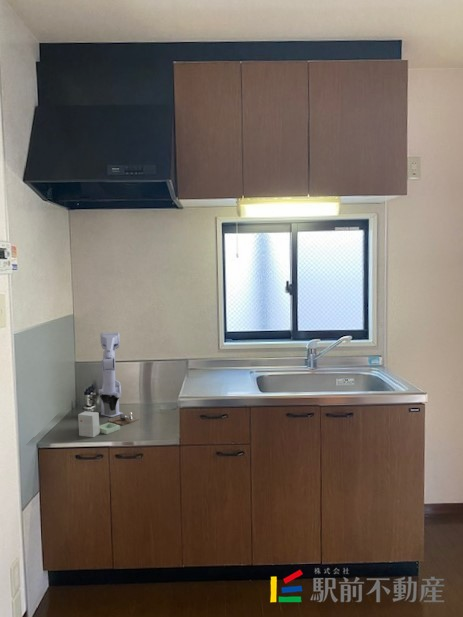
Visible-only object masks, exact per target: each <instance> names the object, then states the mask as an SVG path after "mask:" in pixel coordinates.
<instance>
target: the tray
mask: <svg viewBox="0 0 463 617" xmlns="http://www.w3.org/2000/svg"><path fill="white" fill-rule="evenodd" d="M99 428H100V434H104V435H109V434H112V433H115V432H118V431H120V430H121V425H119V424H115V423H112V422H106V423H103V424H99Z"/></svg>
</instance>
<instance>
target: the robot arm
mask: <svg viewBox="0 0 463 617" xmlns="http://www.w3.org/2000/svg"><path fill="white" fill-rule="evenodd" d="M120 336H121V335H120V332H117V331H116V332H101V333H100V344H101V347H102V348H101V349H103V353H102V359H101V362H100V363H101V372H102V385H101V386H102V388H99V389H98V394H100V395H99V398H100V399H101V401H100V405H101V406H100V407H101V413H100V415H101V416H104V417H105V416H106V417H109V418H113V417H117V416H120V415H124V413H123V412H121V411H120V398H121V397H122V386H121V385H122V384H121V382H120V381H119V380H117V379H116V350H118V349H119V348H120V343H121V342H120ZM108 401H110V407H111V411H113V410H115V408H116V414H114V415H111V416H109V415H105V414H104V402H108Z"/></svg>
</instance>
